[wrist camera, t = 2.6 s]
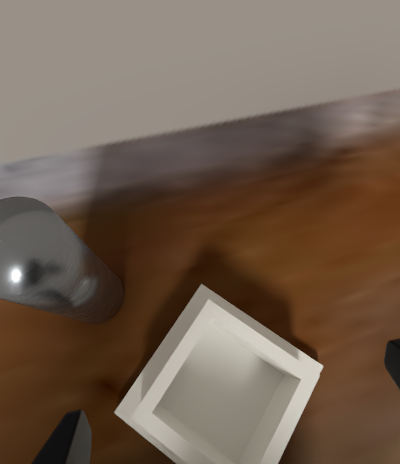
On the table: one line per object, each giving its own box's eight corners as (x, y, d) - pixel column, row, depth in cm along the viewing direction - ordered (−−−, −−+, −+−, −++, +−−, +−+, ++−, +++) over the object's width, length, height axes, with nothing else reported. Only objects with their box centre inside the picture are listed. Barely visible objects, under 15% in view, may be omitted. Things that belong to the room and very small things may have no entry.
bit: (135, 289, 23) (83, 230, 12) (100, 335, 22) (6, 318, 11) (94, 260, 24) (10, 179, 13) (58, 303, 23) (-70, 256, 11)
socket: (318, 365, 22) (348, 368, 18) (246, 516, 18) (261, 561, 14) (201, 286, 23) (203, 272, 19) (116, 410, 20) (98, 425, 16)
